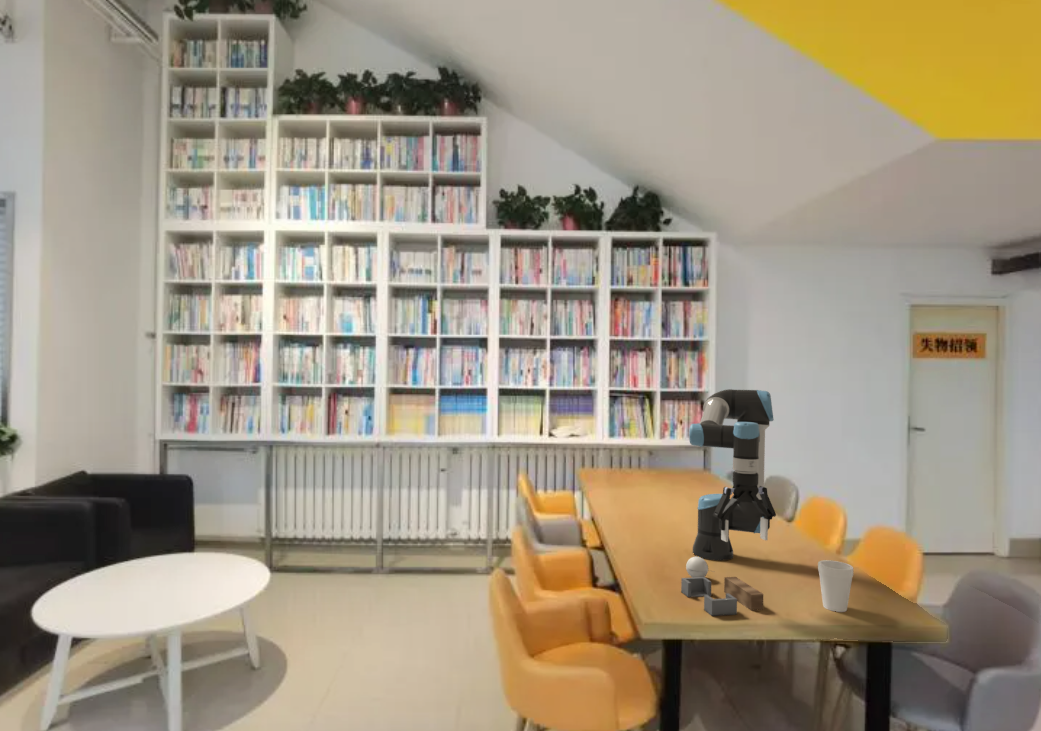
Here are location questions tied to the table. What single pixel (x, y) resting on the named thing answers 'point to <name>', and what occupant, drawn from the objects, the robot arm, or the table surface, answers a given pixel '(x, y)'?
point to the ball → (697, 567)
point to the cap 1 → (696, 586)
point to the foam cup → (835, 584)
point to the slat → (743, 593)
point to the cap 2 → (720, 605)
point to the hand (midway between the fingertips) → (744, 540)
